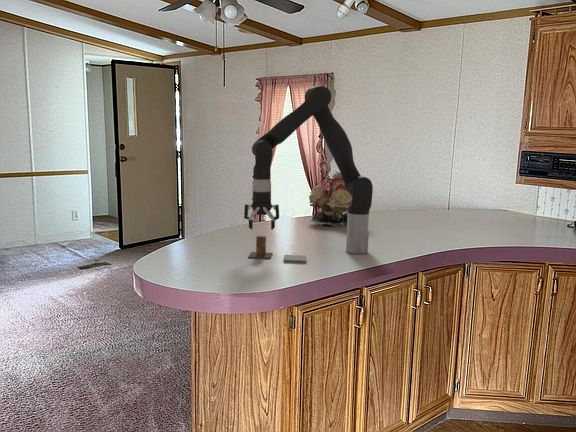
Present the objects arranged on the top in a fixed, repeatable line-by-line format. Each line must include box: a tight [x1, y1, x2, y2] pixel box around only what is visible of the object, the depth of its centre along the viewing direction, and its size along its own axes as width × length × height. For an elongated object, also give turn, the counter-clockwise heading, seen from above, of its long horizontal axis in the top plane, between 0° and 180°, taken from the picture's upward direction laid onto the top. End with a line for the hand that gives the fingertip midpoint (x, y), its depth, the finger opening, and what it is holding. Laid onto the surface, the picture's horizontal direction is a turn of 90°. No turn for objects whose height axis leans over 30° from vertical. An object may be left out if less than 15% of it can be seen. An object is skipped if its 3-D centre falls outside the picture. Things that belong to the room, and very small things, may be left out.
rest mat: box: [248, 251, 273, 260], centre depth 219 cm, size 9×9×1 cm
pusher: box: [255, 234, 267, 256], centre depth 218 cm, size 4×4×8 cm
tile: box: [283, 254, 307, 264], centre depth 214 cm, size 9×2×9 cm
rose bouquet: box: [308, 170, 352, 228], centre depth 303 cm, size 26×29×30 cm
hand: (261, 229), depth 217 cm, fingers open, 8 cm apart
